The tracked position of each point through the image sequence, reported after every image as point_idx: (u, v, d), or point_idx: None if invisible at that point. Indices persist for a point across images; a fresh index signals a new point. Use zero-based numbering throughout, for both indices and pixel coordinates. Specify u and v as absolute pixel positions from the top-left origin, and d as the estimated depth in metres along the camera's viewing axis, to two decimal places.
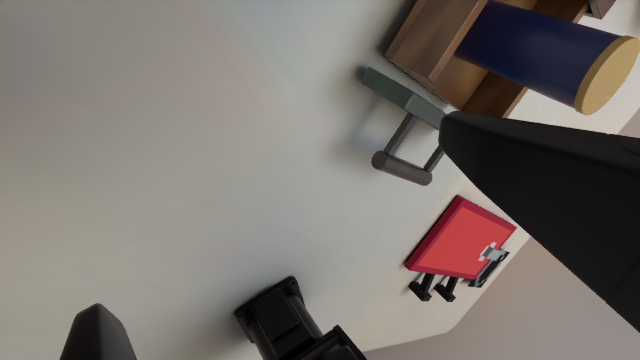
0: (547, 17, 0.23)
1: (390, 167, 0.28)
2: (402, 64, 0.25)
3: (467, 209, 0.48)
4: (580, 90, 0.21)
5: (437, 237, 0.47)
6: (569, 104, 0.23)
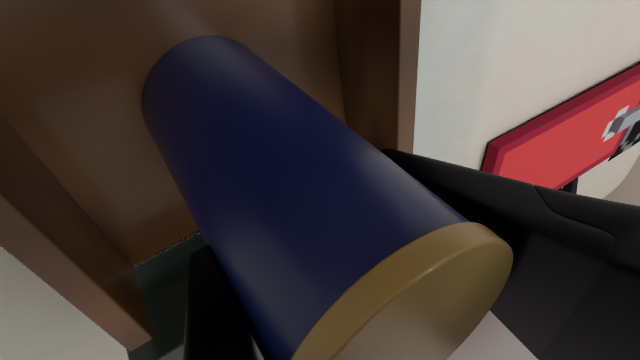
0: (206, 160, 0.08)
1: None
2: None
3: (520, 144, 0.29)
4: None
5: None
6: None
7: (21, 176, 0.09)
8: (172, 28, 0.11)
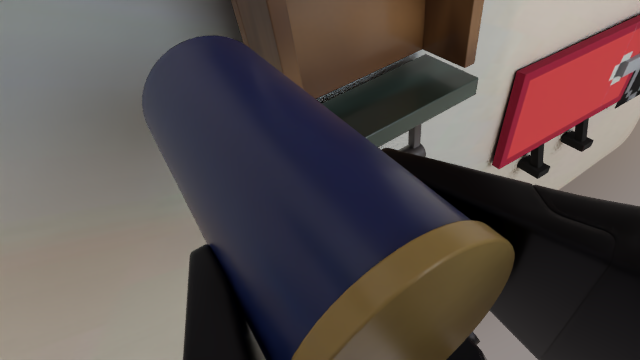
0: (207, 159, 0.08)
1: None
2: None
3: (542, 74, 0.36)
4: None
5: (514, 125, 0.38)
6: None
7: None
8: None
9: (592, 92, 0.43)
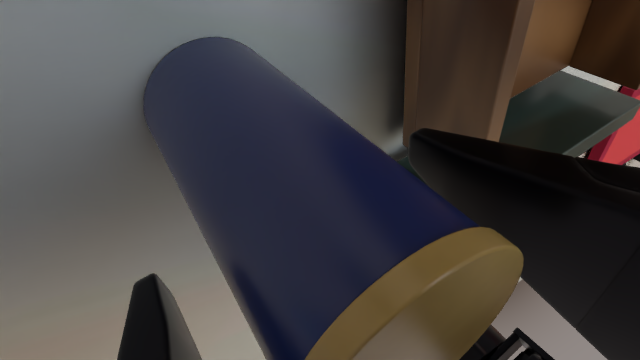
0: (211, 163, 0.08)
1: None
2: None
3: None
4: None
5: (609, 145, 0.35)
6: None
7: None
8: None
9: None
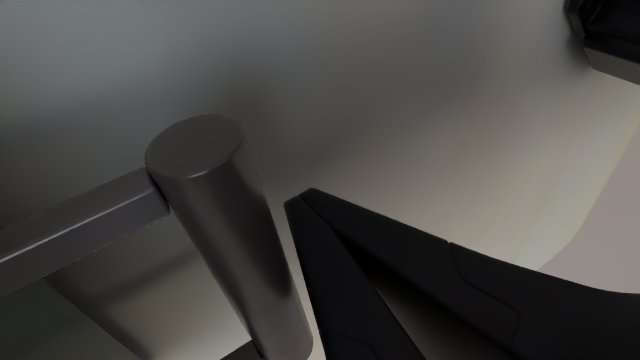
0: None
1: (296, 354, 0.09)
2: None
3: None
4: None
5: None
6: None
7: None
8: None
9: None
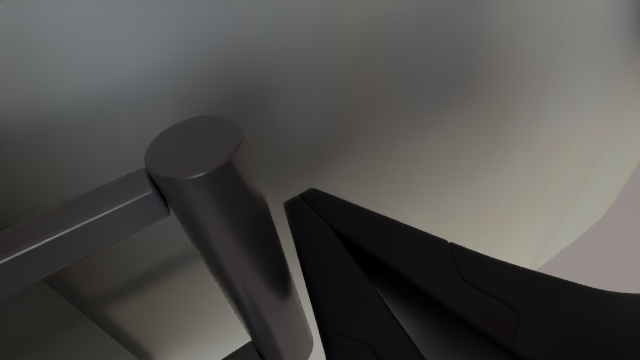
0: None
1: (296, 356, 0.09)
2: None
3: None
4: None
5: None
6: None
7: None
8: None
9: None
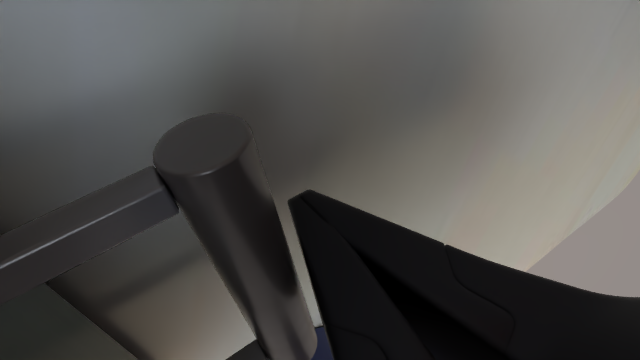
0: None
1: (301, 354, 0.09)
2: None
3: None
4: None
5: None
6: None
7: None
8: None
9: None
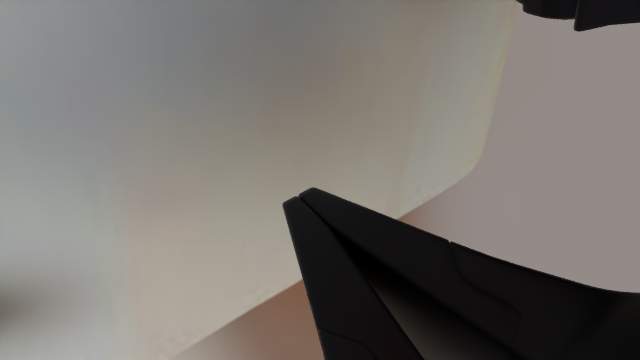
0: None
1: None
2: None
3: None
4: None
5: None
6: None
7: None
8: None
9: None
